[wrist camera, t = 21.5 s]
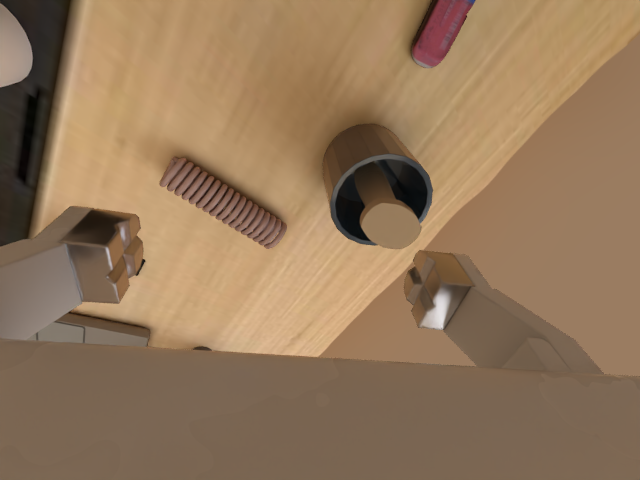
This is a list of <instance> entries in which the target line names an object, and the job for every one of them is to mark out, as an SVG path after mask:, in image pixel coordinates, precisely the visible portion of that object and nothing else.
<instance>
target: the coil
mask: <svg viewBox="0 0 640 480" xmlns="http://www.w3.org/2000/svg"><path fill="white" fill-rule="evenodd" d="M186 162H187V161H186V159H185V158H180V159H179V160H178V158H177V157H172V160H171V162H170V164H169V166H168V168H167V170H166V171H165V173H164V175H163V177H162V179H161V181H160V186H162V187H165V186H166V185H167V184H168V183H169V184H168V186H167V189H168V191H173V190H174V189H175V188H176V189H175V195H177V196H179V195H181V194H182V199H184V200H187V199H189V203H190V204H195V203H196V207H197V208H202V207H203V211H204V212H209V214H210V215H211V216H215V215H216V219H218V220H222V222H223V223H224V224H228V225H229V226H230V227H231V228H235V230H236V231H241V233H242V234H243V235H247V237H248V238H253V240H254V241H255V242H259V244H260V245H264V247H265V248H267V249H270V248H272V247H274V246H275V245H277V244H278V243H279V241H280V240H281V239H282V237H283V236H284V234H285V232H286V229H287V225H286V223H281V220H280V219H276V218H275V216H270V213H269V212H265V213H264V209H263V208H260V209H258V205H256V204H255V205H253V206H252V201H247V202H246V198H245V197H241V198H240V194H239V193H235V194H234V195H233V193H234V190H233V189H229V190H228V191H227V192H226V190H227V188H228V187H227V185H225V184H224V185H222V186H221V188H220V189H219V191H218V193H217V194H216V195H215V197H214V198H213V196H214V194H215V193H216V191H217V189H218V188H219V187H220V185H221V182H220V181H219V180H216V181H215V183H214V184H213V186H212V187H211V188H210V186H211V184H212V183H213V181H214V177H213V176H209V177H208V179H207V180H206V181H205V179H206V177H207V175H208V174H207V172H205V171H204V172H202V173H201V174H200V171H201V169H200V168H199V167H195V168H194V169H193V167H194V165H193V163H191V162H189V163H187V164H186ZM192 169H193V171H192ZM191 171H192V172H191ZM199 174H200V175H199ZM198 175H199V177H198ZM197 177H198V178H197ZM204 181H205V183H204ZM203 183H204V184H203ZM201 186H202V187H201ZM209 188H210V190H209ZM208 190H209V191H208ZM225 192H226V194H225V195H224V193H225ZM206 193H207V194H206ZM223 195H224V197H223V199H222V201H221V202H220V203H219V201H220V199H221V198H222V196H223ZM232 195H233V197H232ZM231 197H232V198H231ZM212 198H213V199H212ZM239 198H240V199H239ZM230 199H231V200H230ZM229 200H230V201H229ZM238 200H239V201H238ZM228 202H229V203H228ZM218 203H219V204H218ZM227 203H228V205H227V207H226V208H225V209H224V207H225V206H226V204H227ZM217 205H218V206H217ZM234 206H235V207H234ZM233 208H234V209H233ZM223 209H224V211H223ZM232 209H233V210H232ZM231 210H232V212H231ZM230 212H231V214H230V215H229V213H230ZM237 215H238V216H237ZM236 216H237V218H236V220H235V217H236ZM242 221H243V222H242ZM241 222H242V224H241V225H240V223H241ZM247 226H248V228H246V227H247ZM252 231H253V232H252ZM278 232H279V234H278V235H277V236H276V234H277V233H278ZM258 234H259V236H258ZM275 236H276V238H275V239H274V240H273V241H272V242H271V243H269V242H270V241H271V240H272V239H273V238H274V237H275ZM263 239H264V240H263Z"/></svg>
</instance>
